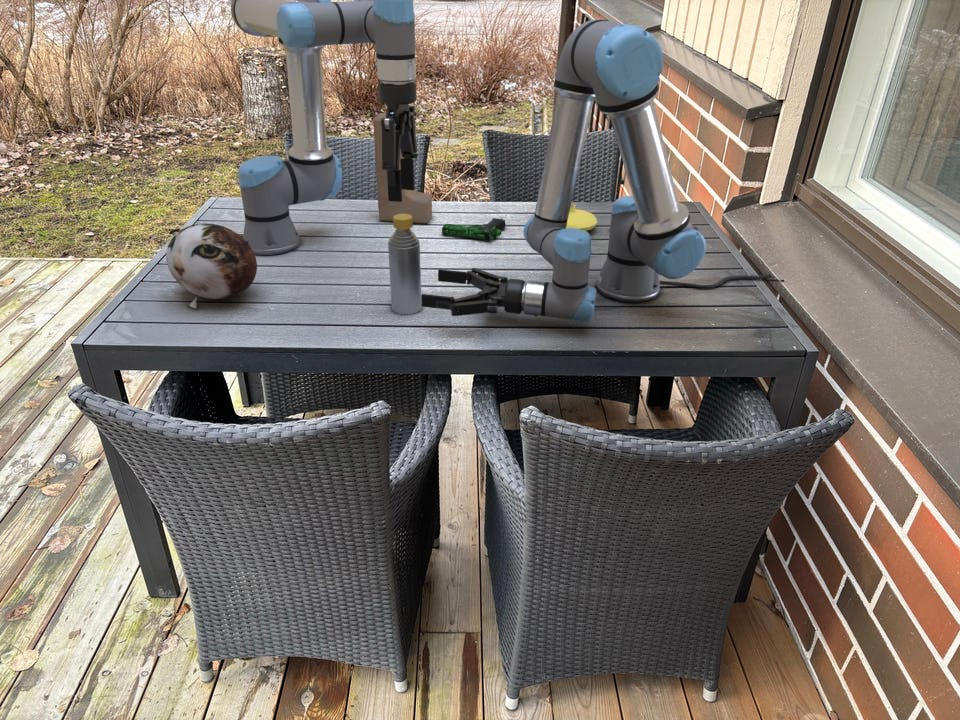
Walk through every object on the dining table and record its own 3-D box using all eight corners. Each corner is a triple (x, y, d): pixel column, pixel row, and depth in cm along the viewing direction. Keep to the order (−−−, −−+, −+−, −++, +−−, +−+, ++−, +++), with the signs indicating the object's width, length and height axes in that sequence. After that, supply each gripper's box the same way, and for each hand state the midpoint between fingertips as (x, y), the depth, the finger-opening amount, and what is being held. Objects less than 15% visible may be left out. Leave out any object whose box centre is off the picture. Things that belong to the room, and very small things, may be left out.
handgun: (511, 219, 210) (493, 234, 198) (511, 228, 211) (492, 244, 199) (461, 212, 215) (440, 226, 203) (461, 221, 217) (440, 236, 204)
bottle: (388, 313, 163) (383, 223, 152) (394, 300, 169) (389, 212, 158) (419, 315, 162) (416, 224, 151) (423, 301, 168) (421, 213, 157)
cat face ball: (130, 285, 161) (164, 203, 163) (192, 308, 177) (221, 233, 178) (195, 307, 151) (229, 220, 152) (254, 330, 166) (285, 250, 168)
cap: (391, 229, 154) (391, 219, 152) (395, 222, 157) (394, 213, 156) (411, 230, 153) (410, 220, 152) (414, 223, 157) (413, 213, 156)
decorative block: (427, 224, 212) (425, 120, 197) (378, 221, 214) (372, 118, 199) (432, 215, 219) (430, 114, 204) (384, 213, 221) (379, 112, 205)
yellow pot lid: (559, 216, 220) (561, 193, 217) (605, 227, 212) (608, 204, 209) (532, 230, 209) (533, 207, 206) (580, 242, 201) (582, 218, 198)
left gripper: (396, 71, 149) (400, 179, 161) (359, 89, 132) (367, 208, 144) (430, 73, 148) (432, 182, 159) (397, 91, 131) (402, 211, 142)
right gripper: (513, 339, 148) (415, 327, 151) (531, 289, 169) (444, 280, 172) (515, 306, 144) (413, 295, 148) (533, 259, 165) (444, 251, 169)
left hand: (401, 194), depth 152 cm, fingers open, 7 cm apart
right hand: (430, 287), depth 160 cm, fingers open, 13 cm apart
